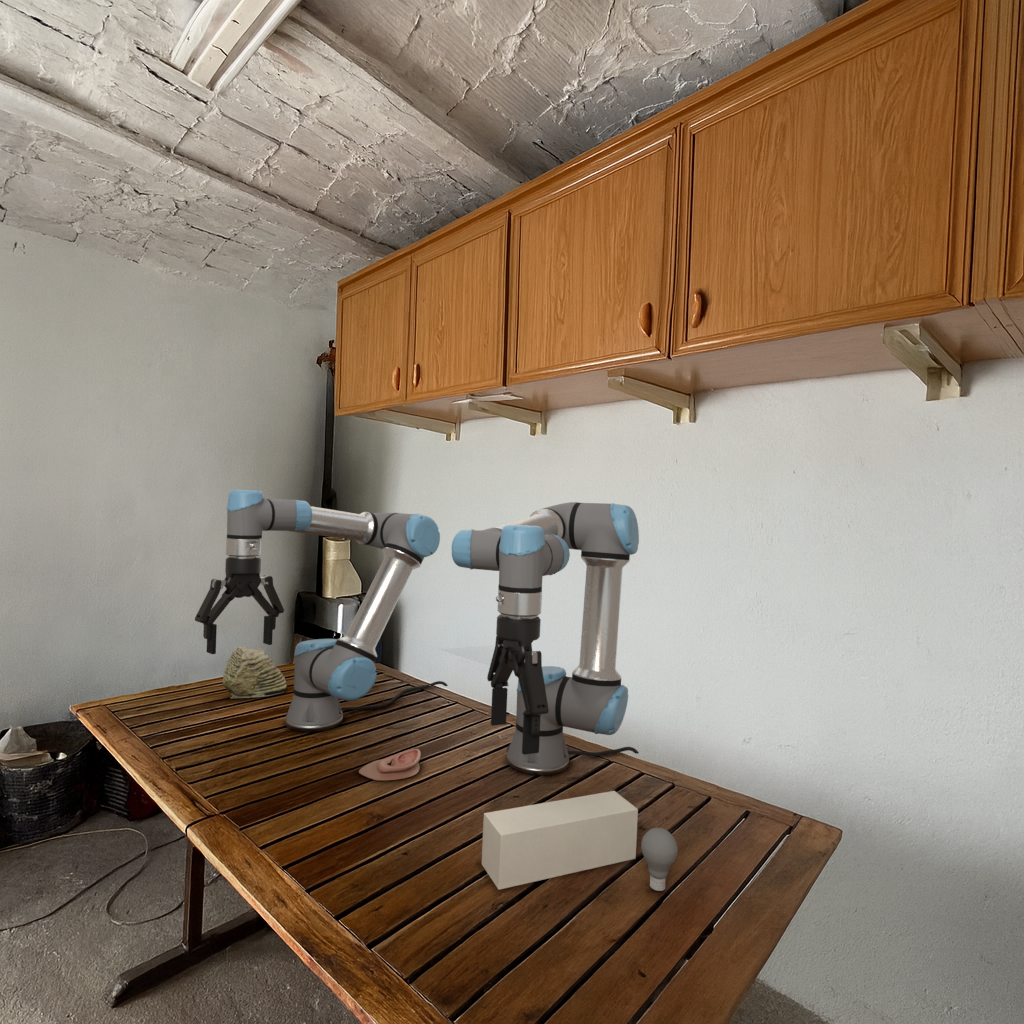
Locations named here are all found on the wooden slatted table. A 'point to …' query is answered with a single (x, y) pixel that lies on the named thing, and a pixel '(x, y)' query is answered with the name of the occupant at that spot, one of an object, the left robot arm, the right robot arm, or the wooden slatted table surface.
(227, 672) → the fossil
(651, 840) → the light bulb
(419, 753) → the anatomical model
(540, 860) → the box
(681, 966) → the wooden slatted table surface
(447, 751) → the wooden slatted table surface
